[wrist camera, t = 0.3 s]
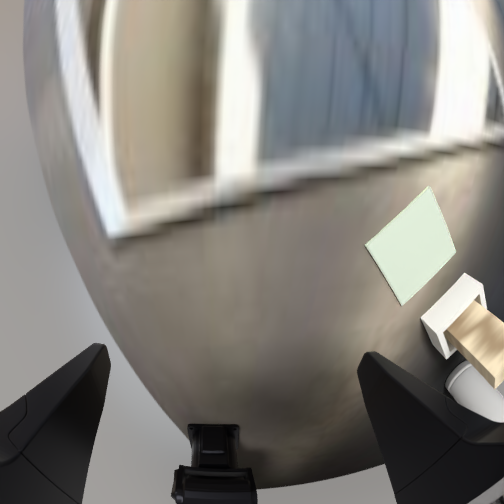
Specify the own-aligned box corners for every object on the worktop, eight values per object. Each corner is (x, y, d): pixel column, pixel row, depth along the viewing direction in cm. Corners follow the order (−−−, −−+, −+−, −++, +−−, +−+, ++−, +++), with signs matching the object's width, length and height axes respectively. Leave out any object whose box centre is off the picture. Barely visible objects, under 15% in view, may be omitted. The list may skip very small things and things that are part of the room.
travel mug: (439, 393, 35) (494, 471, 17) (450, 367, 33) (516, 449, 14) (463, 380, 36) (518, 450, 17) (474, 354, 33) (539, 426, 15)
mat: (400, 304, 27) (402, 305, 27) (364, 245, 24) (366, 246, 24) (454, 251, 25) (456, 252, 25) (428, 185, 23) (429, 186, 22)
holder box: (432, 344, 30) (446, 359, 27) (420, 317, 28) (436, 333, 25) (472, 303, 29) (487, 316, 26) (464, 272, 27) (482, 284, 23)
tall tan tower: (438, 330, 29) (494, 389, 18) (432, 316, 28) (495, 377, 17) (463, 305, 29) (523, 356, 17) (459, 288, 27) (525, 341, 16)
